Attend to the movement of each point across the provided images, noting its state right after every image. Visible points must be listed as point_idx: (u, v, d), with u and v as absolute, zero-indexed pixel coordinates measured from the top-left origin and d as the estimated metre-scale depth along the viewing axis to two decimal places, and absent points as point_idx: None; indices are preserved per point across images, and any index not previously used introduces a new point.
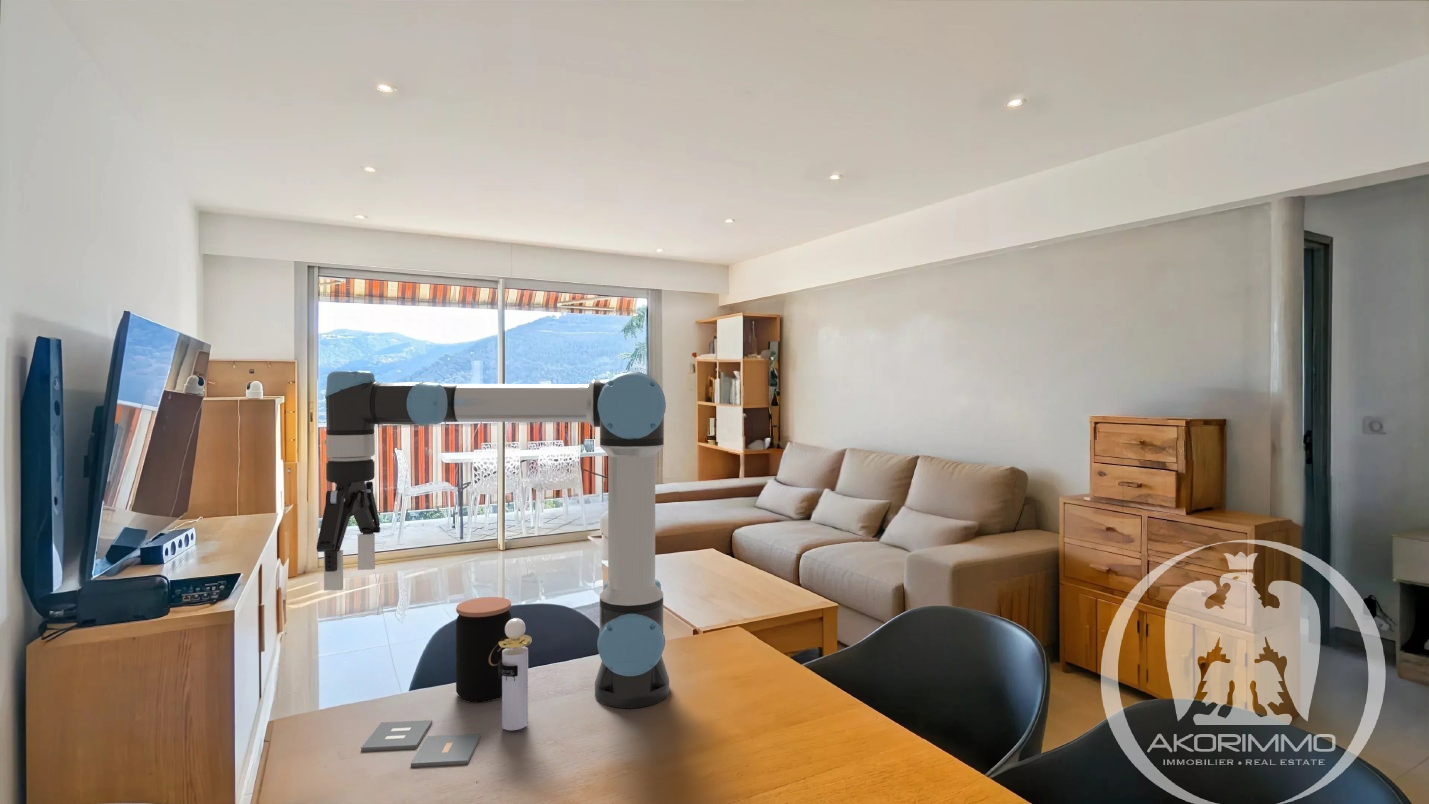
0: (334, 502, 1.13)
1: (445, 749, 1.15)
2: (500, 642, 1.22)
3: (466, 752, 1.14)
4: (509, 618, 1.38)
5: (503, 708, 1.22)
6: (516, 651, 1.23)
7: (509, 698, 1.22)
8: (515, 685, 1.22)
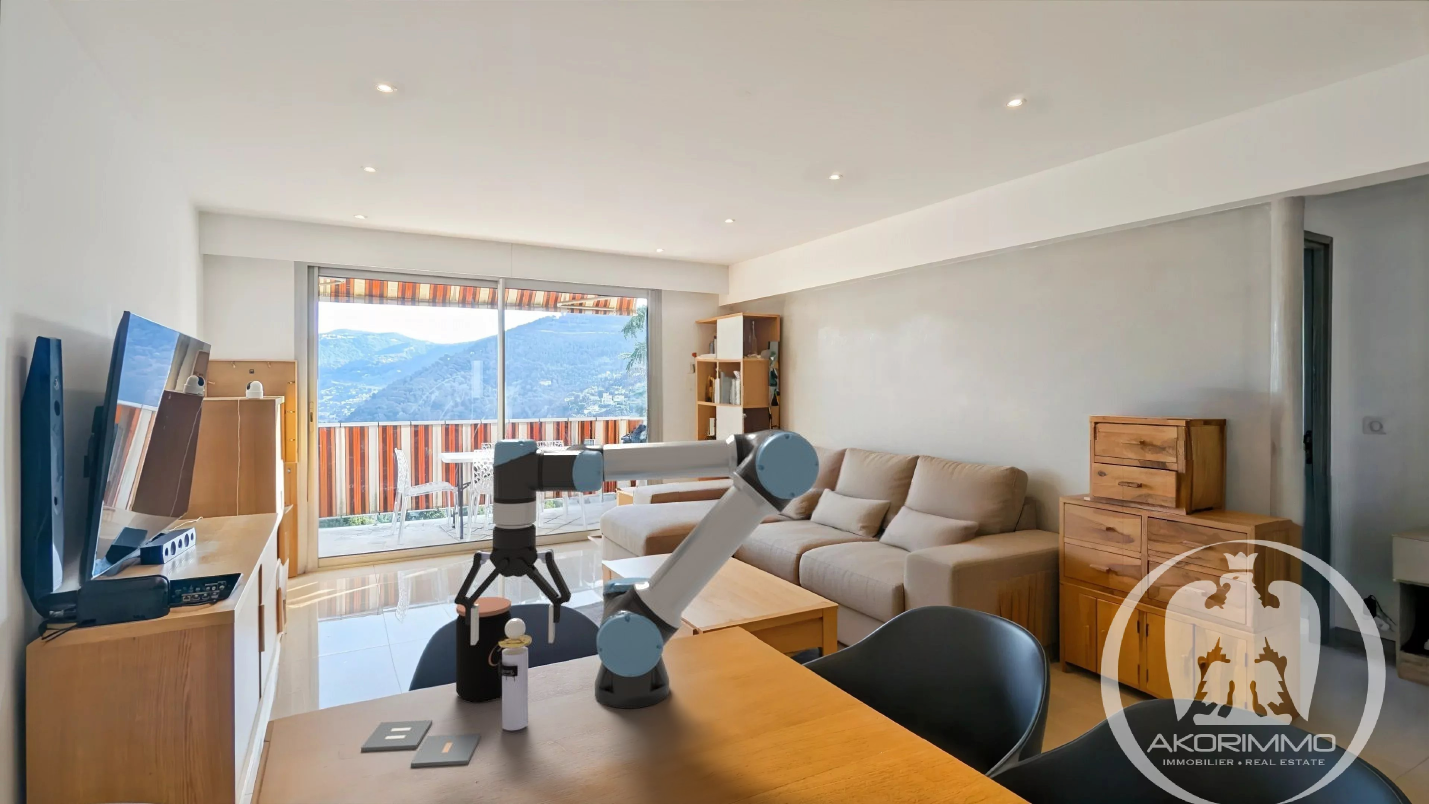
0: None
1: (445, 749, 1.15)
2: (500, 642, 1.22)
3: (466, 752, 1.14)
4: (509, 618, 1.38)
5: (503, 708, 1.22)
6: (516, 651, 1.23)
7: (509, 698, 1.22)
8: (515, 685, 1.22)
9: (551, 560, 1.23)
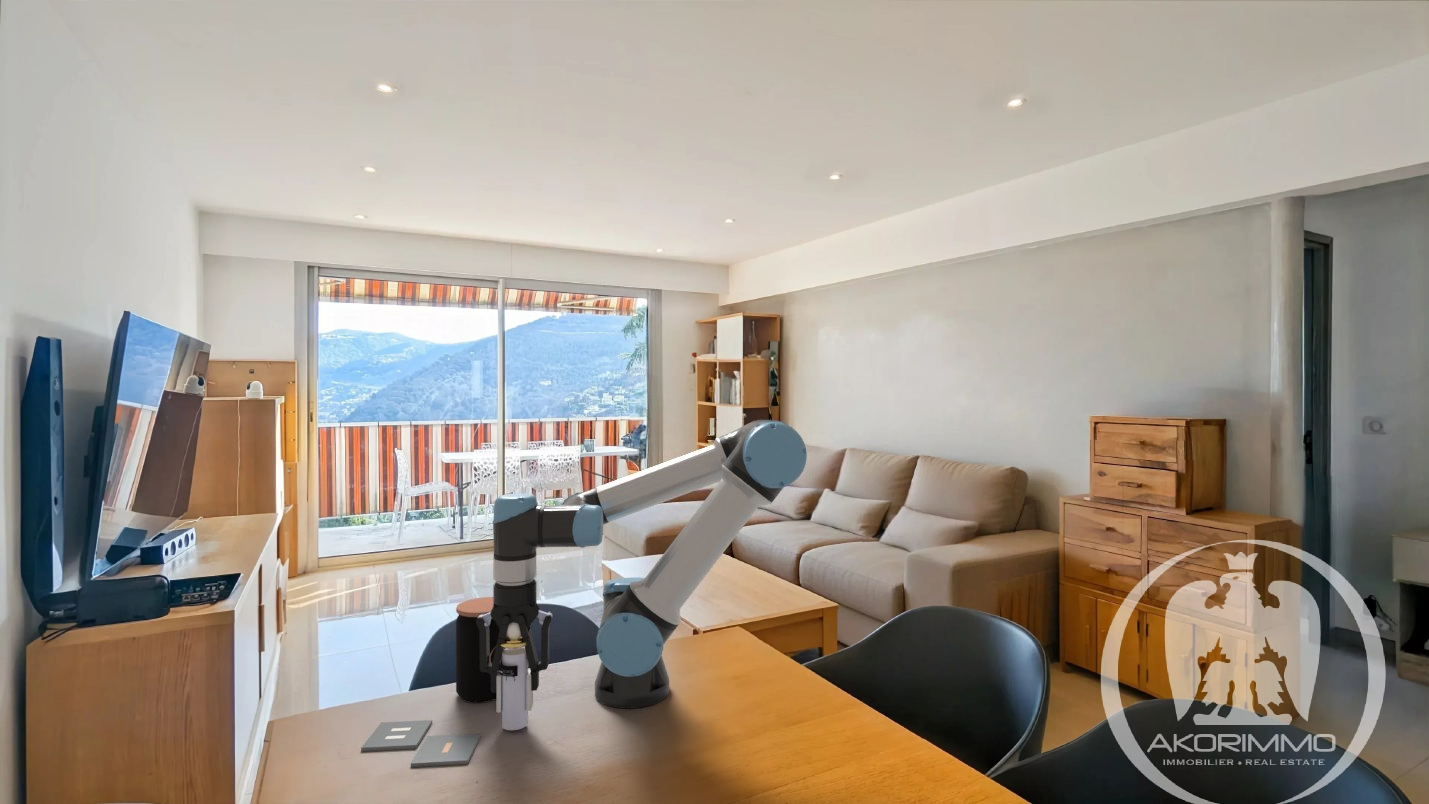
0: None
1: (445, 749, 1.15)
2: None
3: (466, 752, 1.14)
4: None
5: (503, 708, 1.22)
6: (516, 651, 1.23)
7: (509, 698, 1.22)
8: (515, 685, 1.22)
9: (548, 625, 1.23)
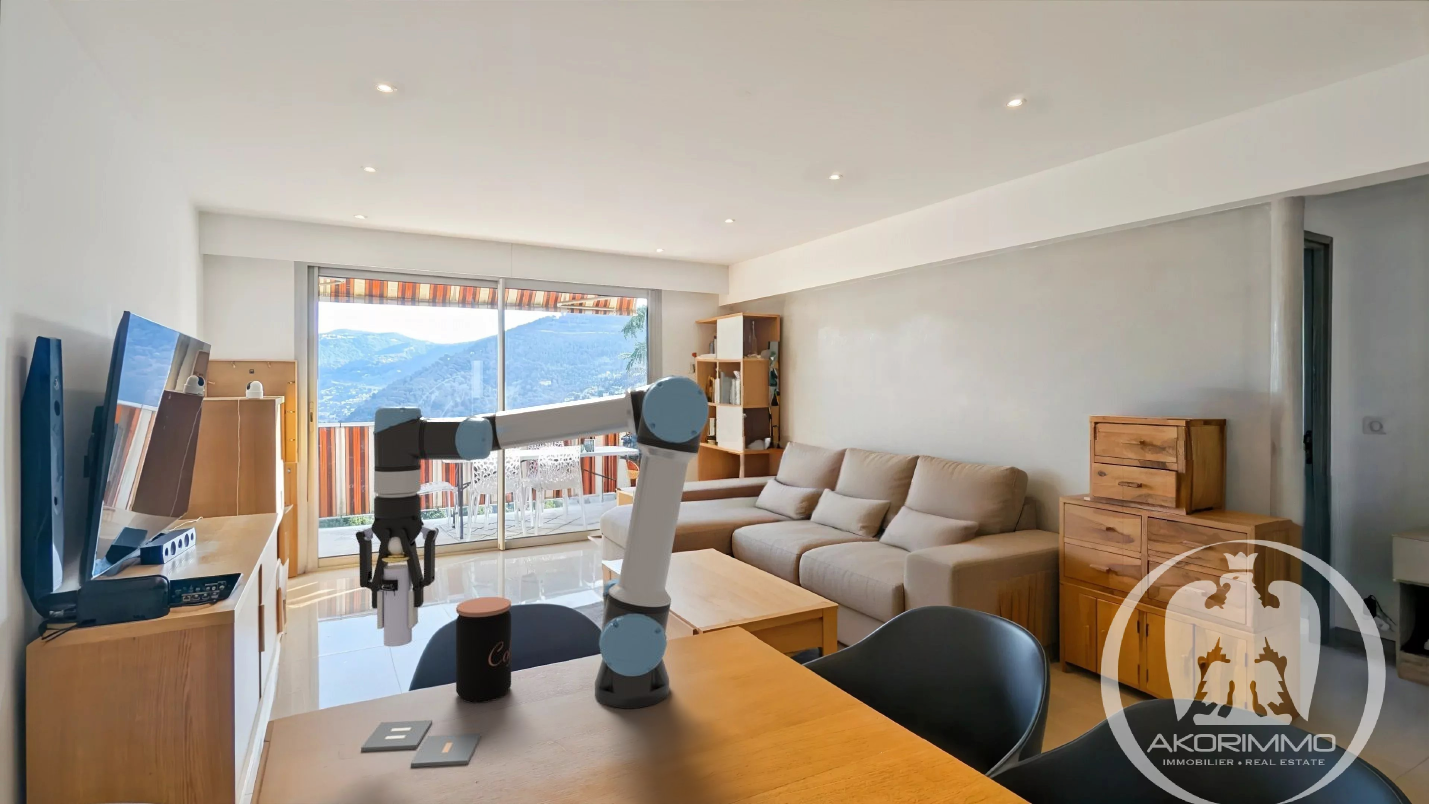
0: None
1: (445, 749, 1.15)
2: None
3: (466, 752, 1.14)
4: (509, 618, 1.38)
5: (384, 624, 1.19)
6: (398, 567, 1.20)
7: (389, 614, 1.18)
8: (396, 600, 1.18)
9: (431, 539, 1.20)
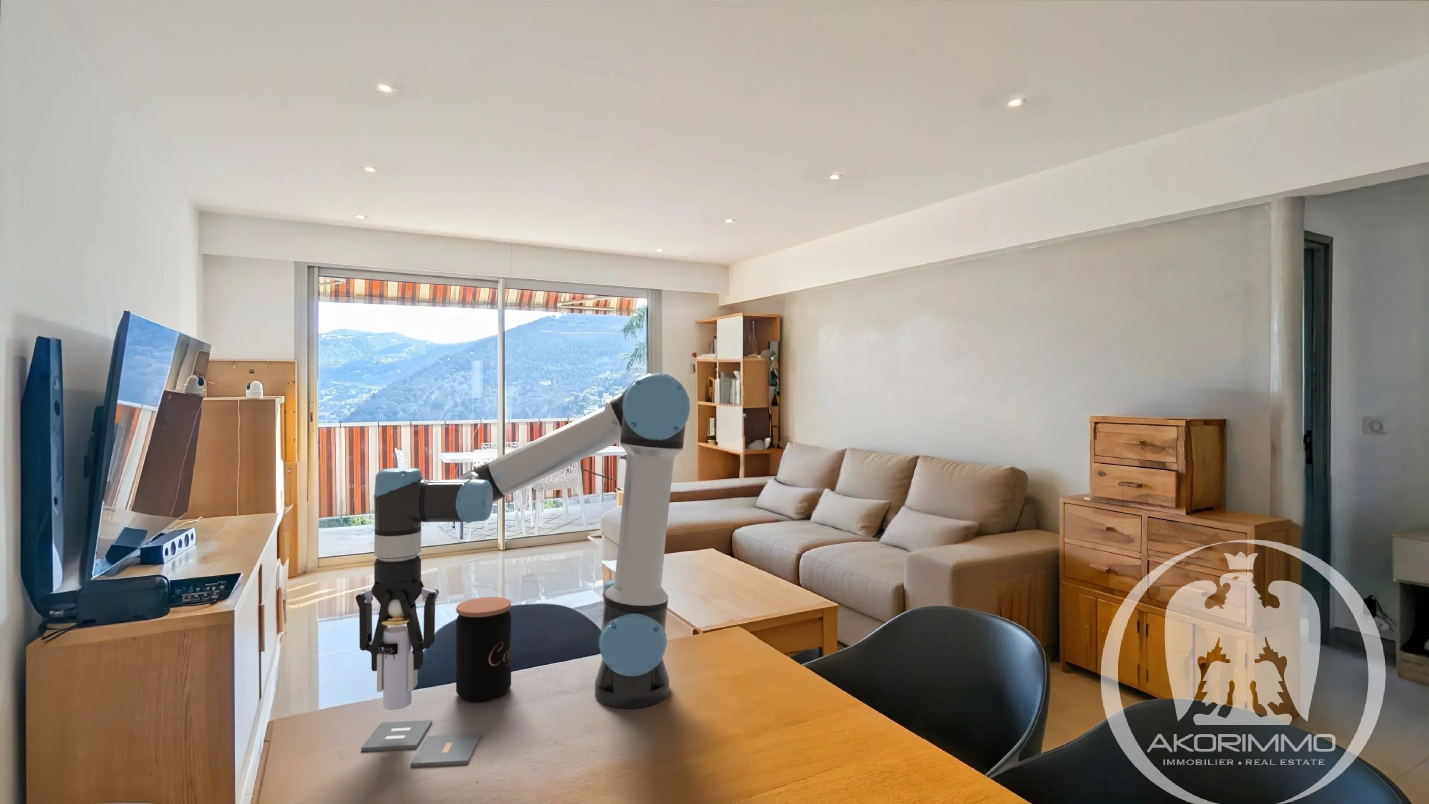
0: None
1: (445, 749, 1.15)
2: None
3: (466, 752, 1.14)
4: (509, 618, 1.38)
5: (384, 687, 1.19)
6: (398, 629, 1.20)
7: (389, 677, 1.18)
8: (396, 663, 1.18)
9: (431, 602, 1.20)
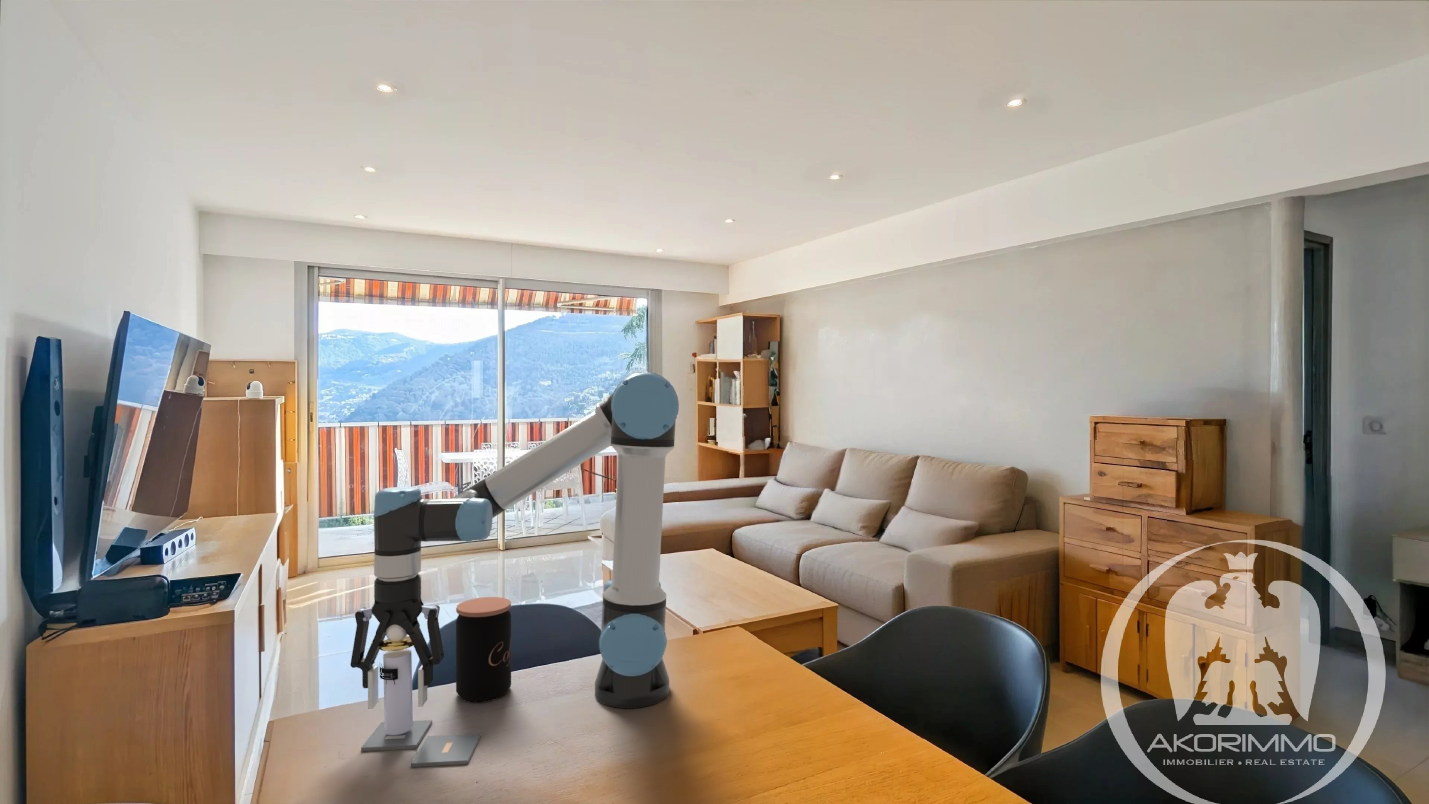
0: None
1: (445, 749, 1.15)
2: (380, 645, 1.19)
3: (466, 752, 1.14)
4: (509, 618, 1.38)
5: (385, 712, 1.19)
6: (398, 654, 1.20)
7: (390, 702, 1.18)
8: (396, 688, 1.18)
9: (433, 618, 1.20)
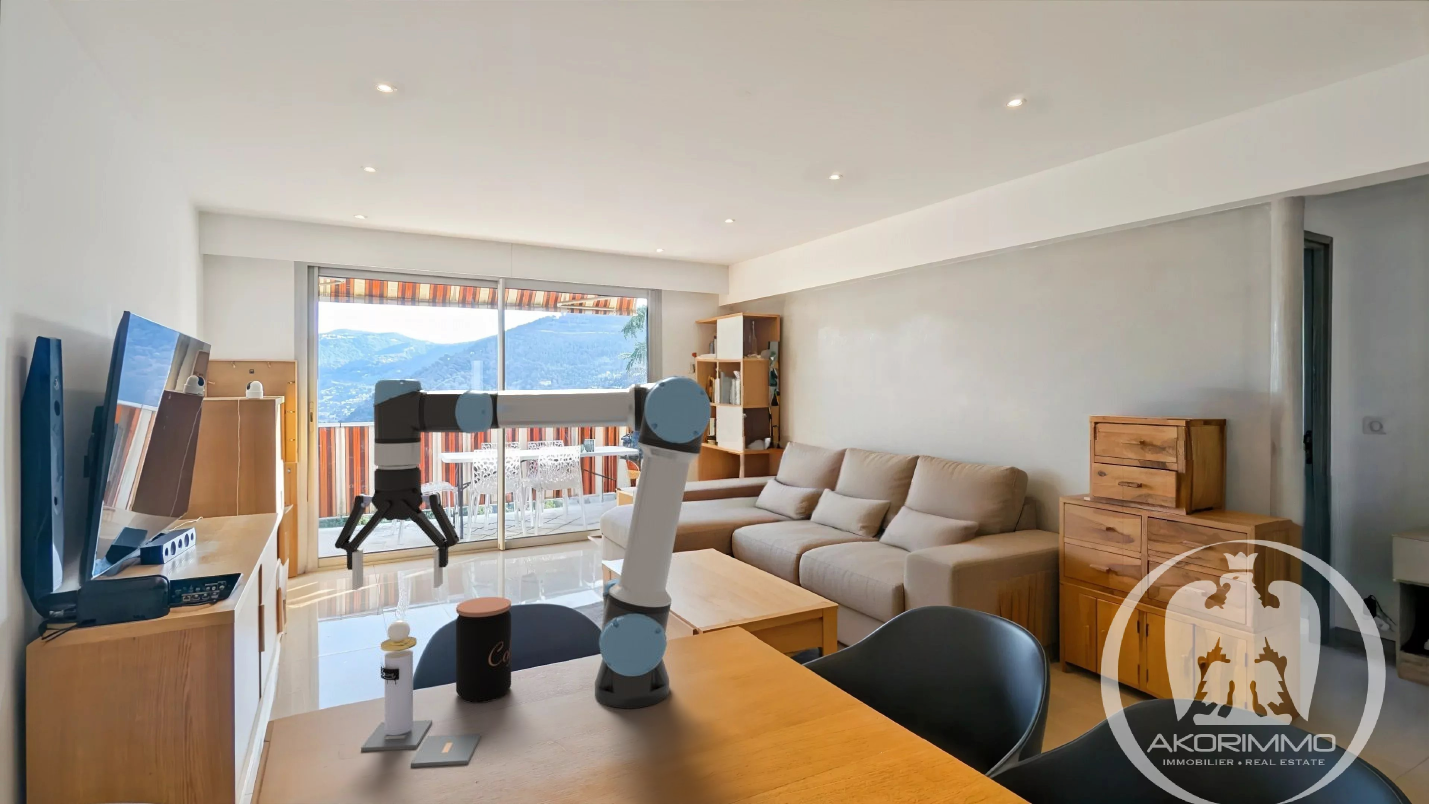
0: None
1: (445, 749, 1.15)
2: (382, 645, 1.19)
3: (466, 752, 1.14)
4: (509, 618, 1.38)
5: (385, 712, 1.19)
6: (399, 654, 1.20)
7: (391, 702, 1.18)
8: (397, 689, 1.18)
9: (436, 503, 1.20)
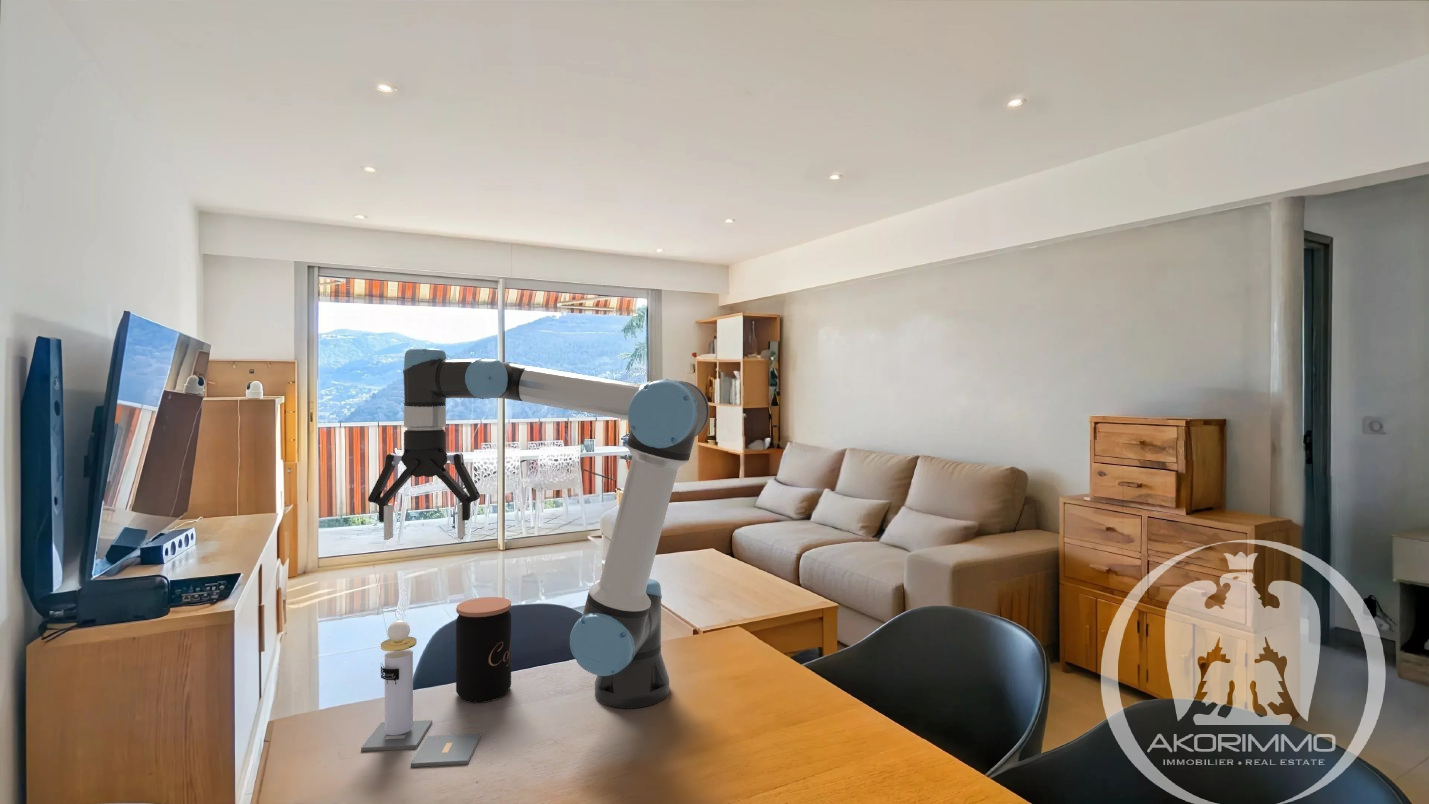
0: None
1: (445, 749, 1.15)
2: (382, 645, 1.19)
3: (466, 752, 1.14)
4: (509, 618, 1.38)
5: (385, 712, 1.19)
6: (399, 654, 1.20)
7: (391, 702, 1.18)
8: (397, 689, 1.18)
9: (459, 461, 1.32)
